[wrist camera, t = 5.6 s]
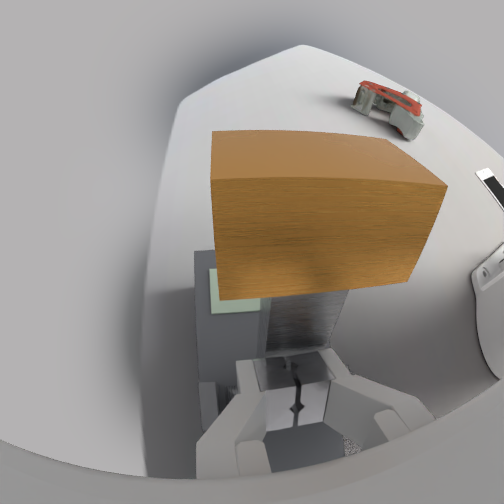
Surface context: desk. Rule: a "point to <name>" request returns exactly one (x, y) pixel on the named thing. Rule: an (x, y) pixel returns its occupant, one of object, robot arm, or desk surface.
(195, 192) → the desk surface
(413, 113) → the tape dispenser
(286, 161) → the lever
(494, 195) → the cell phone
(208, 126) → the desk surface
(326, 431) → the block
